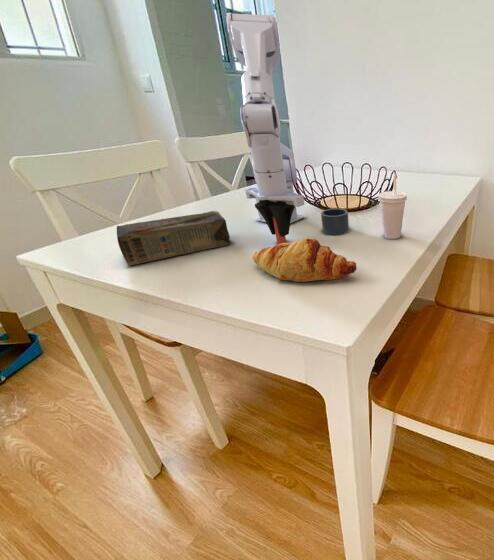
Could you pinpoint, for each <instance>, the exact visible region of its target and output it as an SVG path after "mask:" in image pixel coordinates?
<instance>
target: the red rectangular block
mask: <svg viewBox="0 0 494 560" xmlns="http://www.w3.org/2000/svg"><path fill="white" fill-rule="evenodd" d="M273 222H274V228H275V239H276V243H277V244H281V243H287V235H286V236H283V237H281V236H280V234H279V232H278V228H277V223H276V220H275V218H274V216H273ZM277 244H276V245H277Z"/></svg>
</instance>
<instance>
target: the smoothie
mask: <svg viewBox="0 0 494 560" xmlns="http://www.w3.org/2000/svg"><path fill="white" fill-rule="evenodd" d="M407 196H408V195H407V193H406V192H403V191H398V190H397V174H395V173H393V190H388V191H382V192H380V193H378V194H377V200H378V201H379V206H380V214H381V221H382V227H383V235H384V238H385V239H388V240H396V239H399V238H401V236H402V227H403V220H404V212H405V206H406V201H407V200H408V197H407Z"/></svg>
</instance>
